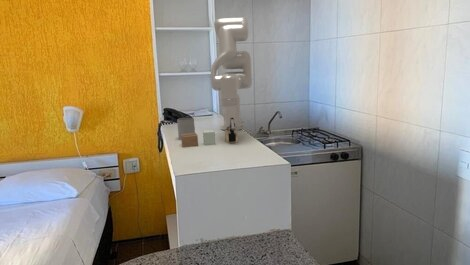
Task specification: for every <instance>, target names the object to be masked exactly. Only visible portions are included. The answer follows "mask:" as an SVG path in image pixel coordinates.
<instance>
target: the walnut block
mask: <svg viewBox="0 0 470 265" xmlns="http://www.w3.org/2000/svg"><path fill="white" fill-rule="evenodd" d="M198 139H199V138H198V134H197V133H196V132H195V133H189V134H181V140H180V141H181V146H182V148H193V147H199V140H198Z"/></svg>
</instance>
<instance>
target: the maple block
mask: <svg viewBox="0 0 470 265" xmlns="http://www.w3.org/2000/svg"><path fill="white" fill-rule="evenodd" d="M230 129H231V128H230ZM224 134H225V136H224V137H225V139H224V140H225V142H226V144H232V143H234V144H235V143H238V130H237V129H236V128H235V134H236V141H235V142H229V128H228V129H225V130H224Z"/></svg>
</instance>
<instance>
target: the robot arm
mask: <svg viewBox="0 0 470 265" xmlns="http://www.w3.org/2000/svg"><path fill="white" fill-rule="evenodd" d="M248 26H249V24H248V19H247V18H246V17H243V16H236V17H230V16H229V17H220V18H217V19H215V20H214V22H213V27H214V31H215V33H216V34H215V35H216V36H217V38H218V47H219V48H218V50H219V54H218V56H217V57H216V58H215V59H214V61H213V63H212V65H211V67H210V68H211V69H210V84H211V88H212V90H213V91H220V97H221V98H220V100H221V106H222V115H223V116H222V117H223V125H222V126H221V127H220V128H221V129H220V130H222V131H225V129H228V128H229V142H235V141H236V134H235V128H236V129H237V131H239V130H243V129H244V128H245V127H244V125H242V124H244V123H245V119H241V100H240V99H241V98H240V95H239V93H238V90H246V89H249V88H251V87H252V85H253V80H252V79H253V77H252V76H253V75H252V61H251V60H252V58H251V54H250V53H249V52H248V51H247V50H237V42H246V41H247V40H248V37H249V27H248ZM221 66H222V68H223V69H225V70H242V71H226V72H223V73H221V74H217V71H218V69H220V68H219V67H221ZM230 128H231V129H230ZM235 143H236V142H235Z"/></svg>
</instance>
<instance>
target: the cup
mask: <svg viewBox="0 0 470 265" xmlns="http://www.w3.org/2000/svg"><path fill="white" fill-rule="evenodd" d="M177 131H178V132H177V133H178V134H177V135H178V140H180V141H182V140H181V134H189V133H196V130H195V118H194V117H182V118H181V117H180V118H177Z"/></svg>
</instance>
